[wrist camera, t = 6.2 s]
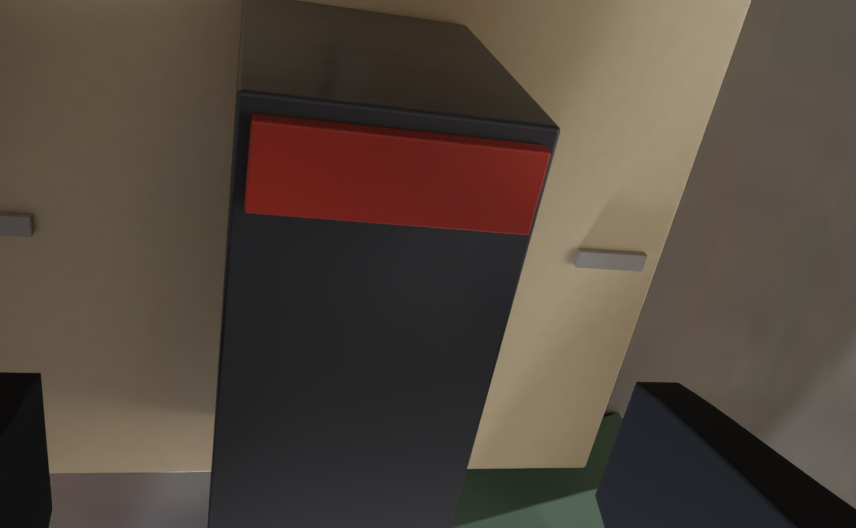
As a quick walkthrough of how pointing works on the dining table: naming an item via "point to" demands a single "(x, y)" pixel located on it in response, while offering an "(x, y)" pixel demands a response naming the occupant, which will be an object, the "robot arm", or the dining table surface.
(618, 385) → the dining table surface
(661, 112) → the wooden stand
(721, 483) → the robot arm
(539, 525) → the button box
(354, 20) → the box
